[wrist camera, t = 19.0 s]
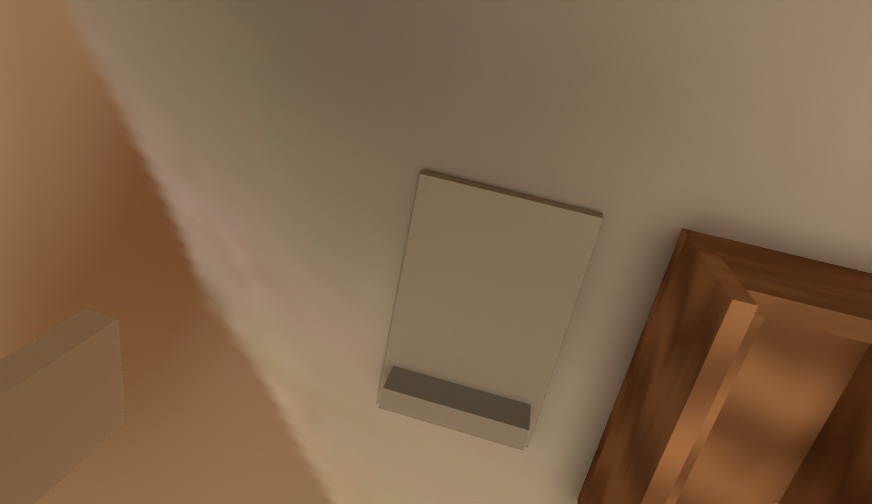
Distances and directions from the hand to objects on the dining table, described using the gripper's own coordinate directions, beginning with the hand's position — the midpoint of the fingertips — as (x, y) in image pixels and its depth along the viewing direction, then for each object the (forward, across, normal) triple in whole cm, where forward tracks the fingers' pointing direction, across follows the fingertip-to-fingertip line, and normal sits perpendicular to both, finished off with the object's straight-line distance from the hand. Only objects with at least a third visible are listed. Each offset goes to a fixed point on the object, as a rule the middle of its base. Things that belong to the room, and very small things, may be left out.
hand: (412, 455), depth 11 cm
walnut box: (+22, +16, -10) cm, 29 cm away
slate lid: (+22, 0, -8) cm, 24 cm away
